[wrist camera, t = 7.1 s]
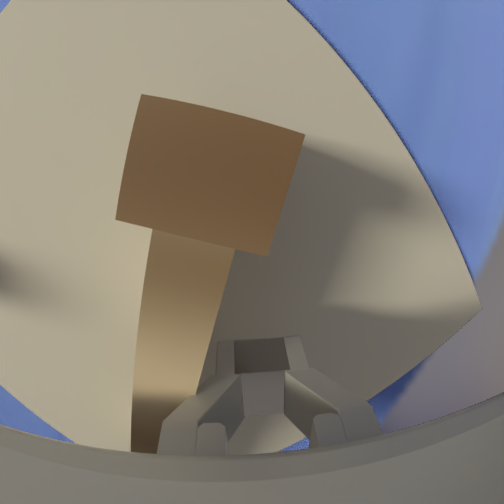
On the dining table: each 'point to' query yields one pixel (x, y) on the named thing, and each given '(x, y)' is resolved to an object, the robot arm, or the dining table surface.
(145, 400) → the gate
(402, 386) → the dining table surface
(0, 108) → the mat
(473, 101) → the dining table surface
